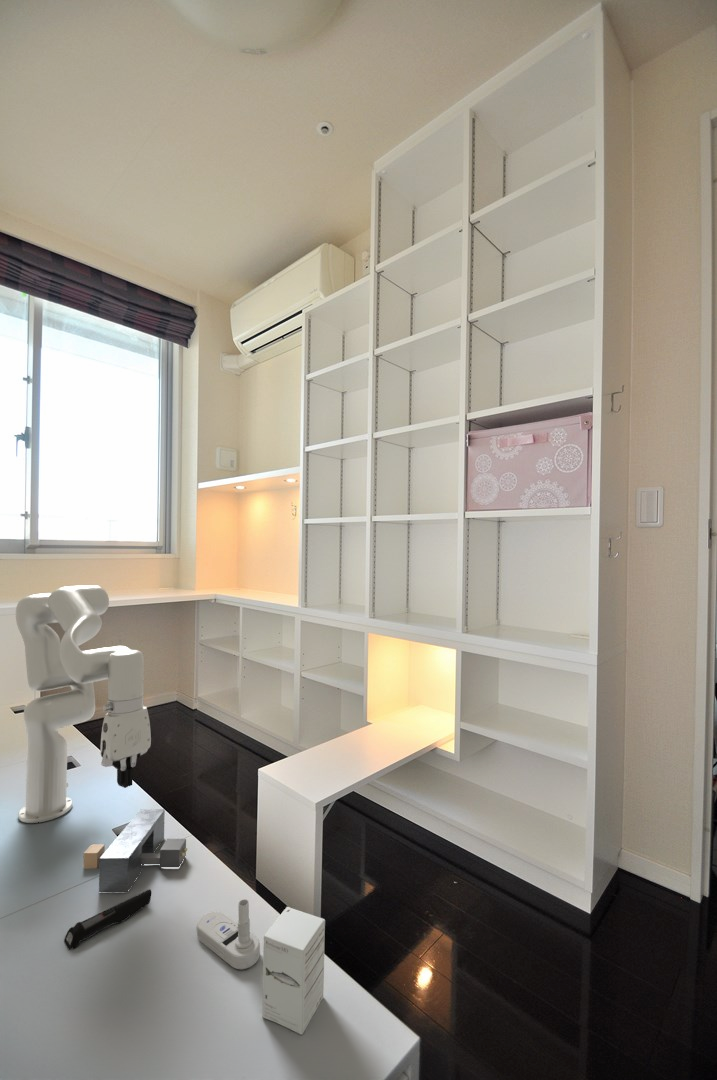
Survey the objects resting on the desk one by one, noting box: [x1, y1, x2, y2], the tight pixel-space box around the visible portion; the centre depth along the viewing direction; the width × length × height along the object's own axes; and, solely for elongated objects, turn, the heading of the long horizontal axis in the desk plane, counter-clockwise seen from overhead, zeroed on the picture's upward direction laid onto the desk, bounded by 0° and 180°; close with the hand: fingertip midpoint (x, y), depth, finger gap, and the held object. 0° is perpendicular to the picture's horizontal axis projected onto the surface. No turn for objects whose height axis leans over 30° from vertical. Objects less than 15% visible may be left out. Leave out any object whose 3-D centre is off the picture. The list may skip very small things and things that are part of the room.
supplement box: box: [261, 906, 326, 1036], centre depth 78 cm, size 7×7×13 cm
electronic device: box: [196, 898, 261, 970], centre depth 90 cm, size 5×10×15 cm
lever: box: [82, 838, 188, 869], centre depth 114 cm, size 22×4×4 cm, turn 91°
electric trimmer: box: [63, 888, 152, 950], centre depth 95 cm, size 4×16×3 cm, turn 137°
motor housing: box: [98, 808, 166, 893], centre depth 114 cm, size 6×20×7 cm, turn 0°
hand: (125, 785), depth 114 cm, fingers closed
